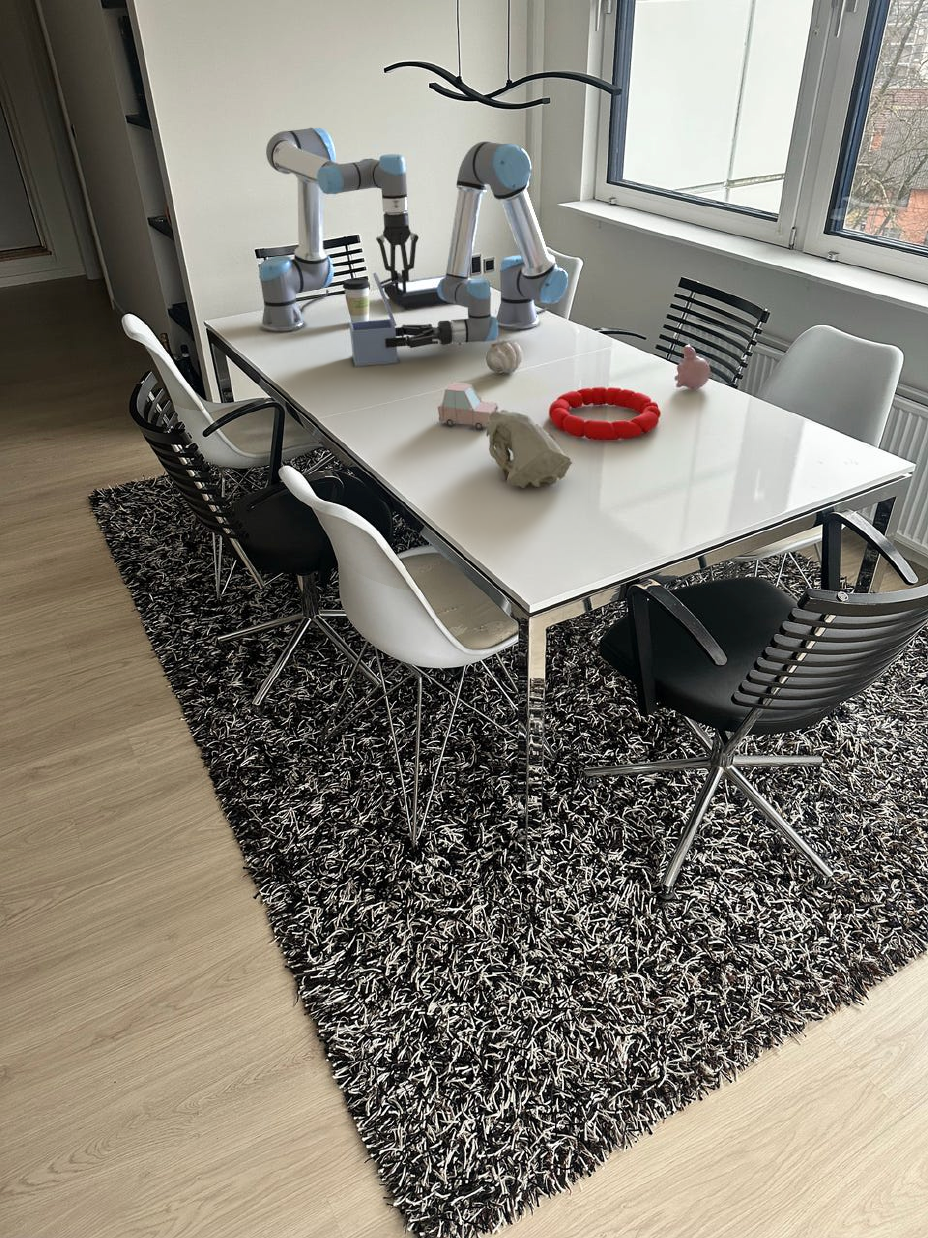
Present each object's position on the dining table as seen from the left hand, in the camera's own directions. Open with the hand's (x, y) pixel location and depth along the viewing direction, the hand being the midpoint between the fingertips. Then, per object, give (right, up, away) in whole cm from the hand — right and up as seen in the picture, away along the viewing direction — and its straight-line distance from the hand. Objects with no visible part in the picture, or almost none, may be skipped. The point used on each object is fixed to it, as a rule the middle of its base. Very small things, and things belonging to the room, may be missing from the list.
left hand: (400, 292), depth 283 cm
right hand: (-6, -12, +7) cm, 15 cm away
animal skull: (+34, -67, -62) cm, 98 cm away
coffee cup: (-18, +5, +44) cm, 48 cm away
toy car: (+21, -50, -37) cm, 65 cm away
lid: (-6, -2, 0) cm, 6 cm away
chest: (-9, -18, +10) cm, 23 cm away
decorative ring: (+58, -50, -39) cm, 86 cm away
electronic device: (+7, +22, +68) cm, 72 cm away
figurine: (+87, -36, -20) cm, 96 cm away
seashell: (+33, -27, -4) cm, 43 cm away
